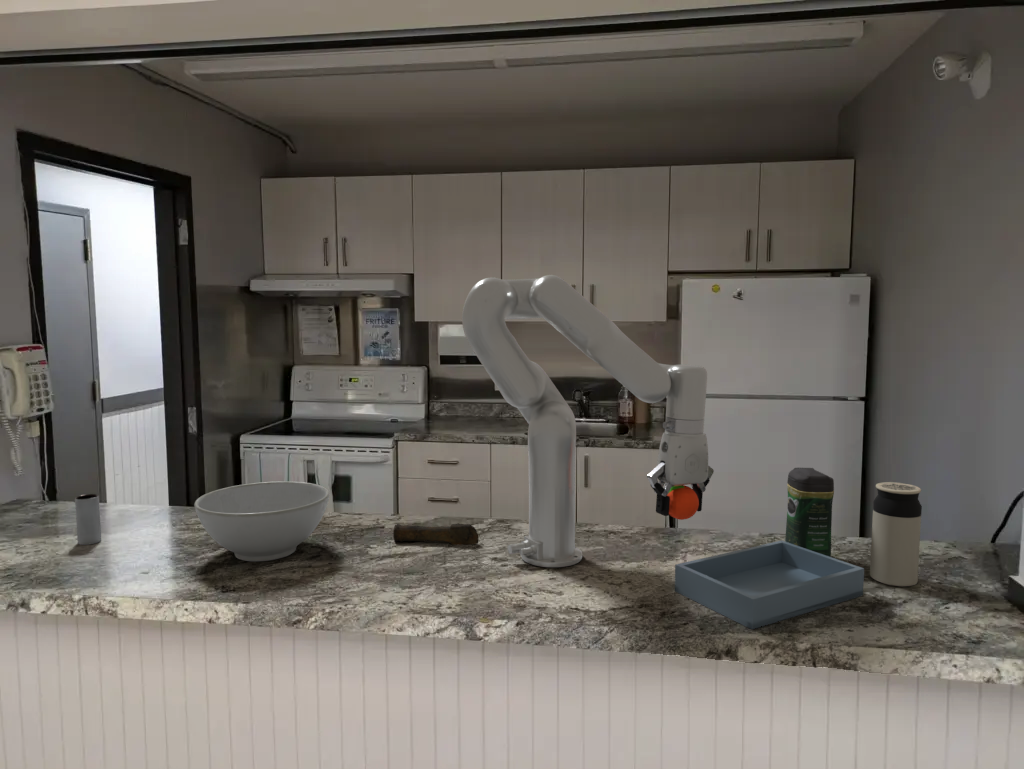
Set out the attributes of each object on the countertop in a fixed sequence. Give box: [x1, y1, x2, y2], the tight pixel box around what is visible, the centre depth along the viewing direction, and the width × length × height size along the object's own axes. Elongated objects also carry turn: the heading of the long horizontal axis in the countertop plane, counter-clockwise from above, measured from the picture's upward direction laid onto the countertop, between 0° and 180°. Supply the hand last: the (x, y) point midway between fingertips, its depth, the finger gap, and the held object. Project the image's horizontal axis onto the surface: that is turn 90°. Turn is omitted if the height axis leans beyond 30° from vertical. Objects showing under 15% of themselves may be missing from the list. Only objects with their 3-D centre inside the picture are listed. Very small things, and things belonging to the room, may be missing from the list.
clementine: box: [667, 485, 699, 521], centre depth 143 cm, size 8×7×7 cm
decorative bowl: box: [193, 480, 330, 562], centre depth 149 cm, size 27×27×12 cm
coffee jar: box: [784, 467, 835, 557], centre depth 145 cm, size 10×8×19 cm
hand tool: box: [393, 523, 479, 546], centre depth 156 cm, size 19×4×5 cm, turn 79°
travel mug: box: [869, 481, 922, 588], centre depth 133 cm, size 8×8×18 cm
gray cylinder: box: [74, 493, 102, 546], centre depth 156 cm, size 4×4×10 cm
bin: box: [674, 540, 865, 630], centre depth 127 cm, size 28×18×5 cm, turn 119°
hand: (678, 511), depth 143 cm, fingers closed on clementine, 8 cm apart
